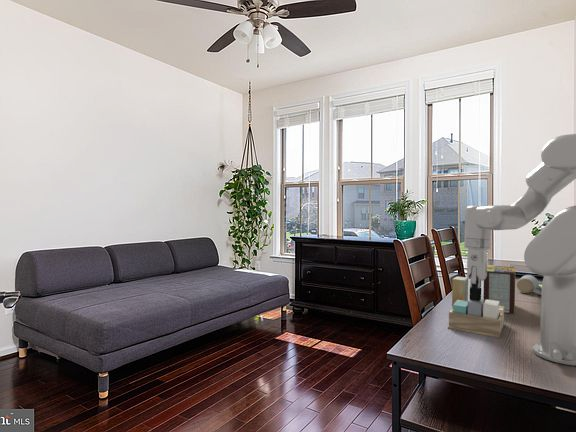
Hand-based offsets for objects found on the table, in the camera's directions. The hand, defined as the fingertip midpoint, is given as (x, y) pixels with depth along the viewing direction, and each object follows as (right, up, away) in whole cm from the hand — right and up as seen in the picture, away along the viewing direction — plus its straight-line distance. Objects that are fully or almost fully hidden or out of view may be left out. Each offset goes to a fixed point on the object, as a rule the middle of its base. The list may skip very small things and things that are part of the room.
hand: (475, 299), depth 119 cm
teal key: (-4, -7, +2) cm, 8 cm away
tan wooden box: (+1, -9, +2) cm, 9 cm away
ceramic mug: (+51, -9, +49) cm, 72 cm away
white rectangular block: (+4, -5, -3) cm, 7 cm away
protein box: (+22, -9, +24) cm, 34 cm away
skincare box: (+5, -9, +21) cm, 23 cm away
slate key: (0, -5, 0) cm, 5 cm away
